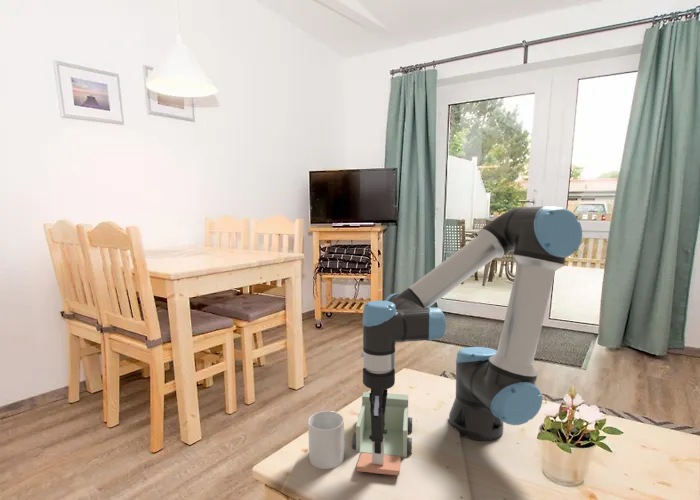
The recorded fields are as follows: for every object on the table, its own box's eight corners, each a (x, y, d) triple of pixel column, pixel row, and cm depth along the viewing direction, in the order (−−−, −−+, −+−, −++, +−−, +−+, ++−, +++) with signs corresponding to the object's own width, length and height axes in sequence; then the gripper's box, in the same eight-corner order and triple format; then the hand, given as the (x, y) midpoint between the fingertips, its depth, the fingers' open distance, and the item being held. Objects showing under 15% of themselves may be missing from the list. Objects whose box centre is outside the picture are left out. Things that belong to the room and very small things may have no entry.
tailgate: (401, 455, 99) (400, 471, 90) (401, 461, 99) (400, 478, 90) (360, 451, 101) (355, 466, 92) (360, 457, 101) (355, 473, 92)
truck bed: (412, 428, 114) (412, 395, 113) (411, 460, 99) (411, 423, 98) (359, 423, 116) (359, 391, 115) (351, 454, 102) (351, 418, 100)
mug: (340, 475, 94) (340, 431, 93) (305, 471, 95) (304, 428, 94) (348, 445, 106) (348, 406, 105) (316, 442, 107) (316, 403, 106)
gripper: (366, 356, 99) (366, 444, 101) (358, 378, 86) (358, 479, 88) (396, 357, 97) (395, 447, 100) (393, 381, 84) (392, 482, 87)
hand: (378, 462), depth 94 cm, fingers closed
